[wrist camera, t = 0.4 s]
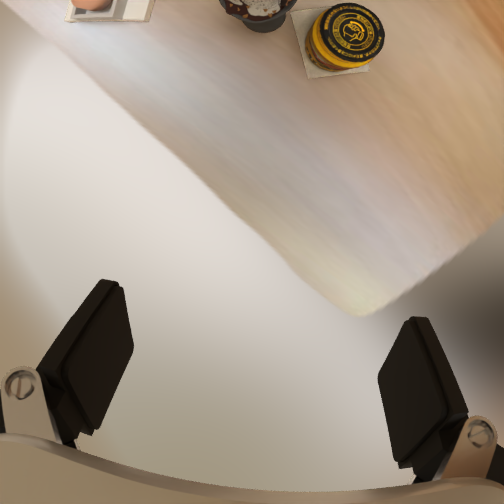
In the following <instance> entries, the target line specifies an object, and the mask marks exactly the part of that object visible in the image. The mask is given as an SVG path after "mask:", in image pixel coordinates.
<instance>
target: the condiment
mask: <svg viewBox="0 0 504 504" xmlns="http://www.w3.org/2000/svg"><path fill="white" fill-rule="evenodd" d="M290 14H291V18H292V21H293V25H294V28H295V31H296V35H297V39H298V43H299V46H300V50H301V54H302V58H303V62H304V66H305V70H306V74H307V78H308V79H313V78H319V77H326V76H333V75H340V74H348V73H356V72H366V71H370V70H369V66H368V63H369V62H370V61H371V60H372V59H373V58H374V57H375V56H376V55H377V54H378V53H379V52H380V51H381V49H382V47H383V44H384V38H385V32H384V29H383V26H382V23H381V21H380V20H379V18H378V17H377V16H376V15H375V14H374V13H373V12H372V11H370V10H369V9H367V8H365V7H364V6H360V5H358V4H356V3H342V4H337V5H335V6H331V7H322V8H314V9H306V10H299V11H293V12H290Z"/></svg>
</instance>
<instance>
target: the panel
mask: <svg viewBox="0 0 504 504" xmlns="http://www.w3.org/2000/svg"><path fill="white" fill-rule="evenodd" d="M154 2H155V0H112V2H111V3H110V4H109V5H108V6H107V7H106V8H104V9H102V10H100V11H89V10H85V9H81V8H78V7H75V6H74V5H73V4H72V2H71V0H70V1H69V5H68V9H67V12H66V16H65V20H64V21H66V22H83V21H143V22H149V19H150V15H151V12H152V8H153V5H154Z"/></svg>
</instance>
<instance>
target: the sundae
mask: <svg viewBox="0 0 504 504" xmlns="http://www.w3.org/2000/svg"><path fill="white" fill-rule="evenodd" d="M219 1H220V3H221V5H222V6H223V7H224V9H225V10H226V13H227V14H229V15H232V16H234V17H236V18H238V19H240V20H242V21H243V23H244V24H245V25H246V26H247V27H248V28H249V29H251V30H253V31H256V32H261V33H266V32H271V31H274V30H276V29H277V28H279V27H280V26H281V25H282V24H283V22H284V20H285V17H286V12H288V11H289V10H290V9H291V8H292V7H293V6H294V4H295V3H296V1H297V0H219Z"/></svg>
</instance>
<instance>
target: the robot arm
mask: <svg viewBox="0 0 504 504" xmlns="http://www.w3.org/2000/svg"><path fill="white" fill-rule="evenodd" d="M133 349H134V343H133V338H132V334H131V328H130V323H129V318H128V313H127V307H126V301H125V295H124V290H123V288H122V287H120V286H119V283H118V282H116V281H111V280H105V279H101V280H100V281H99V282H98V283H97V284H96V286H95V287H94V288H93V290H92V291H91V292H90V294H89V295H88V296H87V297H86V299H85V300H84V302H83V303H82V304H81V306H80V307H79V308H78V310H77V311H76V312H75V314H74V315H73V316H72V317H71V318H70V320H69V321H68V322H67V324H66V325H65V327H64V328H63V329H62V331H61V332H60V334H59V335H58V337H57V338H56V339H55V341H54V342H53V344H52V345H51V347H50V348H49V350H48V351H47V353H46V354H45V356H44V357H43V359H42V360H41V362H40V363H39V365H38V367H37V368H36V370H35V369H33V368H31V367H27V366H20V367H16V368H14V369H12V370H10V371H9V372H8V373H7V374H6V375H5V376H4V377H3V380H2V382H1V389H0V504H504V448H503V447H501V446H499V445H498V444H497V439H498V436H497V431H496V429H495V426H494V425H493V424H492V423H491V421H489V420H488V419H487V418H485V417H482V416H473V417H470V418H469V417H468V415H467V413H468V412H469V411H468V408H467V406H466V403H465V401H464V398H463V395H462V393H461V391H460V389H459V385H458V383H457V381H456V378H455V376H454V374H453V371H452V369H451V367H450V364H449V362H448V360H447V357H446V355H445V353H444V351H443V349H442V346H441V344H440V342H439V340H438V338H437V336H436V333H435V331H434V329H433V327H432V325H431V323H430V321H429V319H428V318H427V317H414V316H413V317H410V318H409V320H407V321H405V322H404V324H403V326H402V328H401V330H400V332H399V334H398V336H397V339H396V340H395V342H394V345H393V346H392V348H391V350H390V352H389V354H388V356H387V358H386V360H385V362H384V364H383V366H382V367H381V369H380V371H379V373H378V385H379V389H380V394H381V398H382V403H383V407H384V412H385V416H386V421H387V426H388V431H389V437H390V442H391V447H392V453H393V458H394V460H395V461H396V462H398V465H399V469H403V468H410V467H413V472H414V474H413V475H412V477H411V479H410V481H409V482H408V484H407V485H403V486H395V487H386V488H377V489H367V490H355V491H337V492H288V491H267V490H255V489H244V488H235V487H227V486H219V485H213V484H206V483H200V482H194V481H189V480H183V479H179V478H174V477H169V476H164V475H160V474H156V473H152V472H148V471H144V470H140V469H137V468H133V467H129V466H126V465H122V464H119V463H116V462H112V461H109V460H106V459H103V458H100V457H97V456H94V455H91V454H88V453H85V452H82V451H81V450H80V447H79V445H78V442H77V438H78V435H79V433H80V432H82V433H84V434H87V435H90V436H92V434H93V432H94V429H96V430H97V429H99V428H100V426H101V424H102V421H103V419H104V416H105V414H106V412H107V409H108V407H109V405H110V402H111V400H112V398H113V396H114V393H115V391H116V389H117V386H118V384H119V382H120V380H121V378H122V375H123V373H124V371H125V369H126V367H127V364H128V362H129V360H130V358H131V356H132V353H133Z"/></svg>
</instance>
